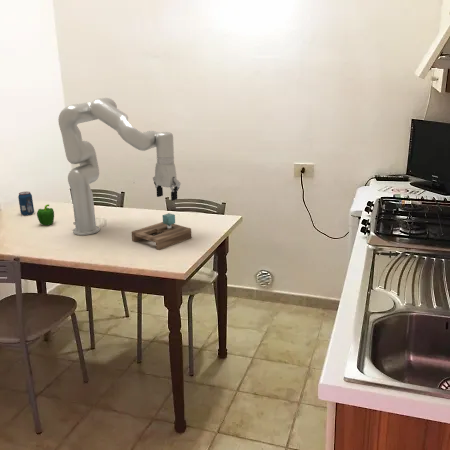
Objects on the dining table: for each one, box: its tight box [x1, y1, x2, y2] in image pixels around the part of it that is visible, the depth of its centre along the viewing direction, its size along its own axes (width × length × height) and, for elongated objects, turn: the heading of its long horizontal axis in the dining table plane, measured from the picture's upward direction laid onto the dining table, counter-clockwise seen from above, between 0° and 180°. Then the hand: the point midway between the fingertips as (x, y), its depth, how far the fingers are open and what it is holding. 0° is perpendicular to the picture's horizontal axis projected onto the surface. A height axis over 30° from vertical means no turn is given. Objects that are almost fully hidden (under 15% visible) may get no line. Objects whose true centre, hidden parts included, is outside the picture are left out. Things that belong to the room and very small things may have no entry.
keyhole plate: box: [130, 221, 192, 251], centre depth 230 cm, size 18×20×4 cm
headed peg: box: [162, 212, 176, 229], centre depth 232 cm, size 5×5×10 cm
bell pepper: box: [36, 203, 55, 226], centre depth 255 cm, size 8×8×10 cm
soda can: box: [17, 191, 35, 217], centre depth 274 cm, size 7×7×12 cm
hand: (167, 198), depth 228 cm, fingers open, 9 cm apart
